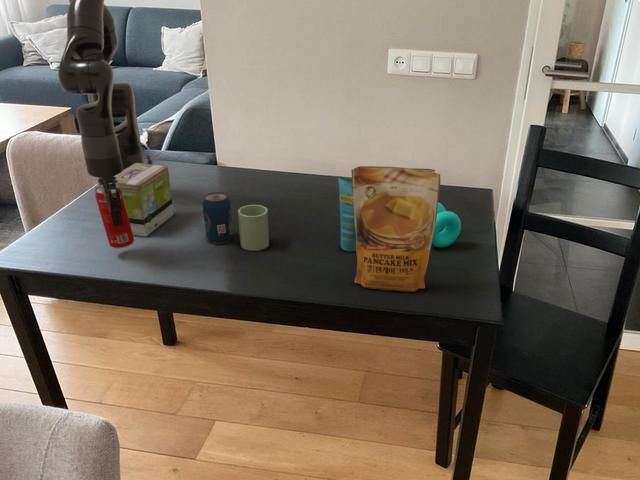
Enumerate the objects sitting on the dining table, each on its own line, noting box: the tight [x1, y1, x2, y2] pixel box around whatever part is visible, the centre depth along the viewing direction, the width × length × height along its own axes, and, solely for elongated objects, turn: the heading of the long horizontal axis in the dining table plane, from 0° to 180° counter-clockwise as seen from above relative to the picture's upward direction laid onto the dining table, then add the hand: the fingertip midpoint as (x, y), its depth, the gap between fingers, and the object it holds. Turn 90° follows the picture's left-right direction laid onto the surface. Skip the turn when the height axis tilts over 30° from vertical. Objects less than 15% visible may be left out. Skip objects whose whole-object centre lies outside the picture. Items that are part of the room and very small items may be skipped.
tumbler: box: [237, 204, 270, 252], centre depth 149 cm, size 7×7×10 cm
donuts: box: [431, 201, 462, 249], centre depth 154 cm, size 10×10×10 cm
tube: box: [337, 175, 356, 252], centre depth 147 cm, size 7×5×19 cm, turn 72°
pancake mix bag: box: [350, 165, 441, 293], centre depth 130 cm, size 7×19×28 cm, turn 84°
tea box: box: [114, 163, 174, 237], centre depth 156 cm, size 15×10×15 cm, turn 168°
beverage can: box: [94, 186, 135, 250], centre depth 139 cm, size 6×6×15 cm
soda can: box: [201, 191, 234, 245], centre depth 151 cm, size 7×7×12 cm
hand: (115, 219), depth 140 cm, fingers closed on beverage can, 5 cm apart
